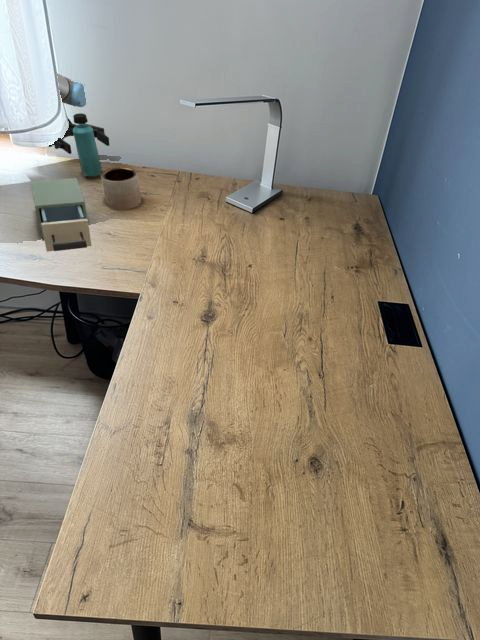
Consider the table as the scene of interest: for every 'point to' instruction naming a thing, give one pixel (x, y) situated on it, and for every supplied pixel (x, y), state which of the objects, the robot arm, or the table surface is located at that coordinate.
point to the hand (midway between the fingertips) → (89, 145)
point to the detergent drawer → (65, 228)
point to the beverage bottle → (86, 146)
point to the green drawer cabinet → (56, 196)
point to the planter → (121, 188)
